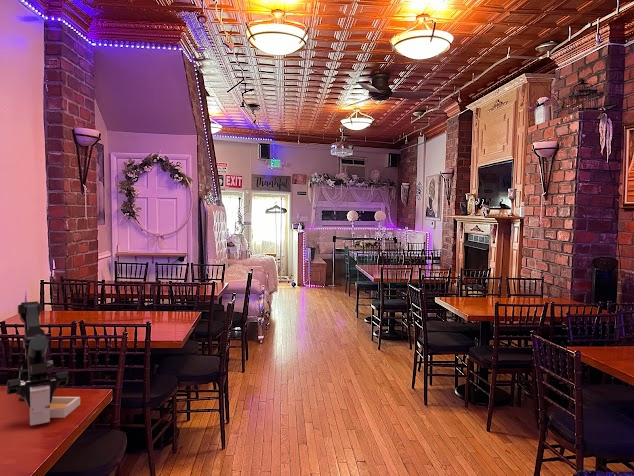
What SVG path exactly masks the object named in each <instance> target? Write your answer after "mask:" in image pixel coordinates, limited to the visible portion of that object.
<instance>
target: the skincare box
mask: <svg viewBox="0 0 634 476" xmlns="http://www.w3.org/2000/svg"><path fill="white" fill-rule="evenodd" d="M50 422H51V418H50V384H42V385H40V386H36V387H30V407H29V425H30V426H36V425H40V424H45V423H50Z"/></svg>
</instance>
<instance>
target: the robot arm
mask: <svg viewBox="0 0 634 476" xmlns="http://www.w3.org/2000/svg"><path fill="white" fill-rule="evenodd" d="M42 312H43V303H42V302H41V303H40V302H39V301H38V300H37V301H26V302H25V301H24V302H20V304H18V305H17V314H18V315H19V320H20V321H21V322H22V323H23V324H24V325H23V326H24V338H23V340H22V347H23V349H25V351H24V352H25V353H24V355H25V359H24V361H23V363H22V365H21V367H20V368H21V369H20V370H19V374H18V378H13V379H8V380H7V382H6V394H7V395H14V394H15V395H16V396H20V398H18V401H24V402H25V403H26V405H27V408H30V387H36V386H43V385H49V384H50V385H49V387H50V404H51V402H52V398H53V397H54V395H55V392H56V390H57V389H59V388H60V387H62V386H67V385H68V383H69V380H70V375H69V372H68V371H61V372H60V371H59V372H56V373H55V376H52V377H49V371H53V370H54V367H55V366H54V360H53V359H51V360H47V359H46V358H47V357H46V355H47V351H48V347H49V345H50V344H51V340H50V338H48V336H47V335H46V333H45V330H44V329H43V328H41V325H40V324H41V323H40V316H41V313H42Z"/></svg>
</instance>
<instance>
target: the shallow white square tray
mask: <svg viewBox="0 0 634 476" xmlns="http://www.w3.org/2000/svg"><path fill="white" fill-rule="evenodd" d="M51 403H55V404H67V405H66V406H65V407H64V408H50V419H51V418H55V419H57V418H58V419H60V418H61V419H63V418H65V419H66V417H67V416H69V414H71V413H72V412H73V411H74V410H75V409H77V408H78V407H79V406H80V405H81V397H80V396H53V398H52V402H51Z"/></svg>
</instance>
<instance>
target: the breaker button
mask: <svg viewBox="0 0 634 476" xmlns="http://www.w3.org/2000/svg"><path fill="white" fill-rule="evenodd" d="M66 405H67V404H55V403H51V404H50V408H64V407H65V406H66Z"/></svg>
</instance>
